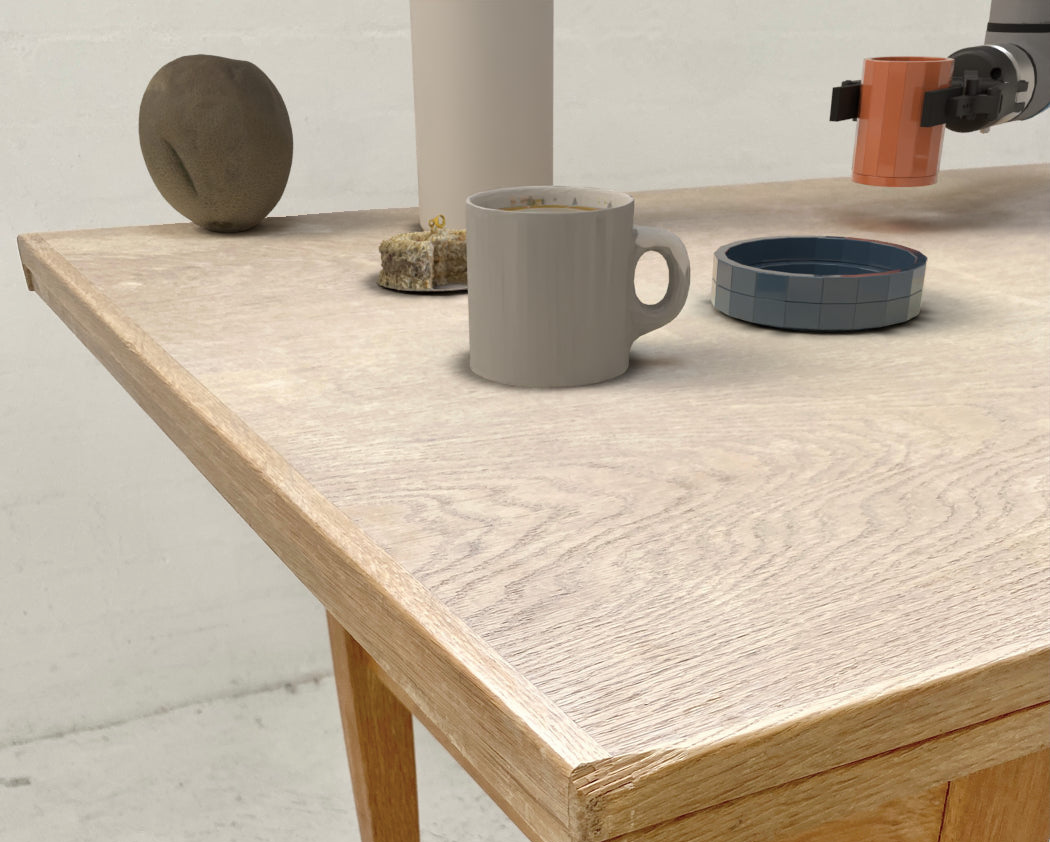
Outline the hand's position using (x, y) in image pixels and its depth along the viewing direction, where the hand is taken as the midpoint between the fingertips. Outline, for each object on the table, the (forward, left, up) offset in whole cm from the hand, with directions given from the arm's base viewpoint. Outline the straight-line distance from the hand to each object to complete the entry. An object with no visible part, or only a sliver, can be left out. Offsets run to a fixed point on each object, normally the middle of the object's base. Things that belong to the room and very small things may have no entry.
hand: (879, 107), depth 111 cm
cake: (-5, +41, -11) cm, 43 cm away
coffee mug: (-31, +39, -11) cm, 51 cm away
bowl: (-23, +18, -11) cm, 31 cm away
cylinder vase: (+16, +31, -11) cm, 36 cm away
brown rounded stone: (+25, +54, -11) cm, 60 cm away
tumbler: (+3, -4, -7) cm, 8 cm away
